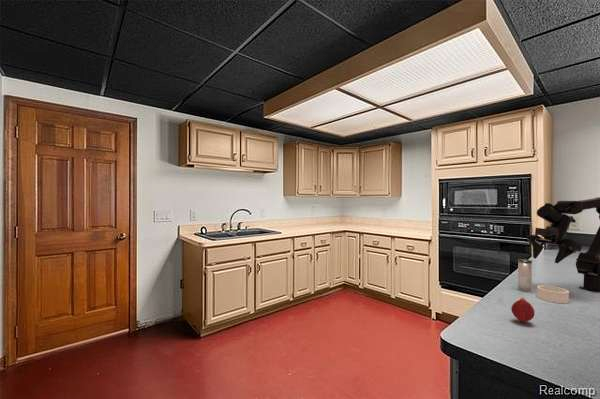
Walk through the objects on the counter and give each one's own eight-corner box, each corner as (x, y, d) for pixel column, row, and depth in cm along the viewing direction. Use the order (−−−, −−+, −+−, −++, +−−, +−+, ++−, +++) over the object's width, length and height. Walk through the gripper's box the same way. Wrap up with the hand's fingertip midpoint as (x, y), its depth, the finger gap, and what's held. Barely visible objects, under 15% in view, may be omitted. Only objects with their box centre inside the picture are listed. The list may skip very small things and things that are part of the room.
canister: (522, 288, 129) (523, 258, 128) (534, 291, 124) (534, 261, 124) (514, 289, 127) (515, 259, 127) (526, 292, 123) (526, 261, 122)
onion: (539, 326, 90) (539, 300, 89) (520, 326, 90) (520, 300, 90) (524, 318, 95) (525, 294, 95) (507, 318, 95) (507, 294, 95)
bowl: (547, 294, 121) (547, 284, 121) (574, 301, 112) (574, 291, 112) (531, 296, 118) (531, 286, 118) (558, 304, 109) (558, 293, 109)
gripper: (524, 217, 133) (510, 248, 132) (568, 221, 114) (553, 257, 113) (542, 228, 134) (529, 258, 133) (589, 233, 116) (574, 268, 115)
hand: (544, 260), depth 124 cm, fingers open, 9 cm apart
